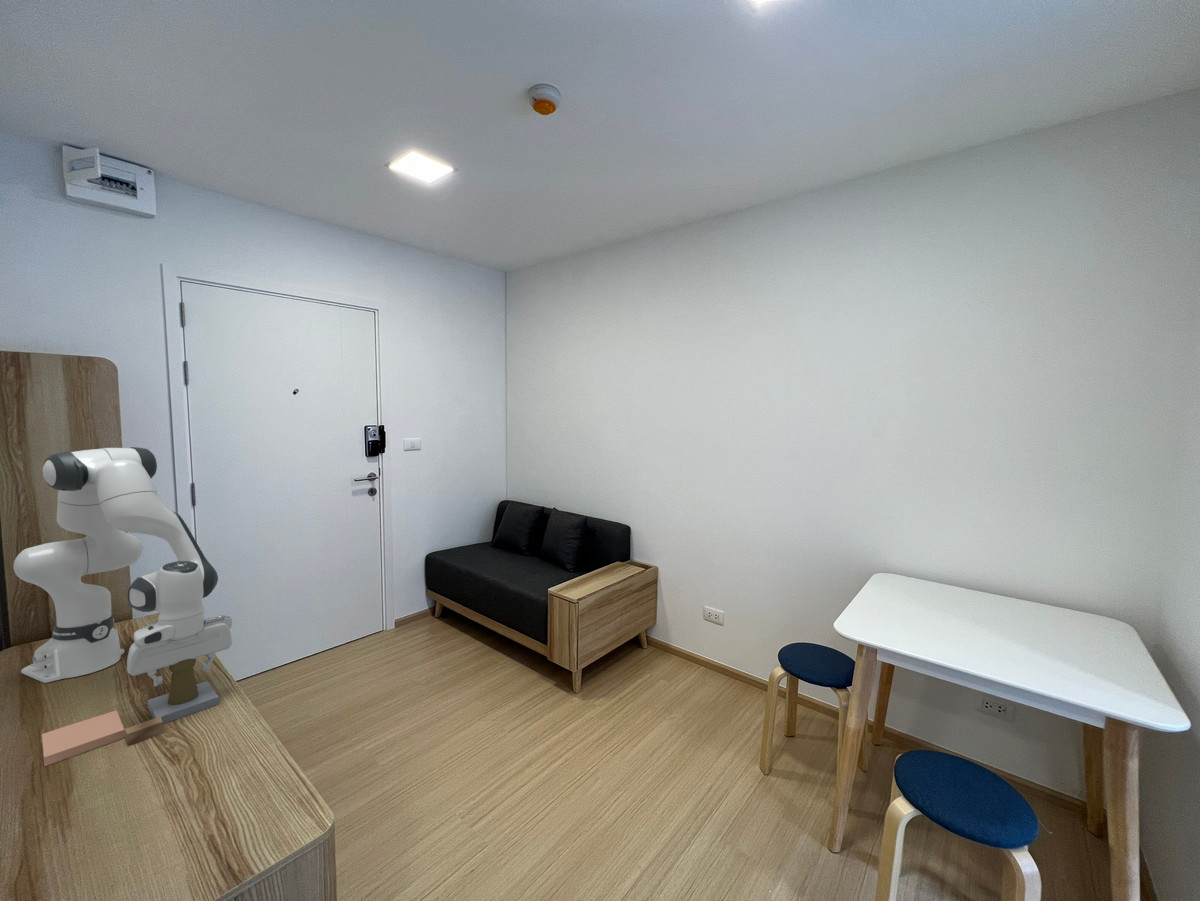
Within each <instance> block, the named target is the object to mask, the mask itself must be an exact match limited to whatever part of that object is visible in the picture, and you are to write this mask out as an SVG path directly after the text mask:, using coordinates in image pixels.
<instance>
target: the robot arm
mask: <svg viewBox="0 0 1200 901" xmlns="http://www.w3.org/2000/svg"><path fill="white" fill-rule="evenodd" d="M157 469H158V463H157V458H156V457H155V455H154V454H153V452H151V451H150V450H149V449H148V448H143V447H137V446H136V447H135V446H130V447H100V448H96V449H95V448H92V449H83V450H77V451H68V450H67V451H61V452H57V453H56V452H55V453H53V454H50V455H49V456H48V457H47V458H46V459H45V460H44V462H43V466H42V476H43V479H44V480H45V483H46V484H47V486H49V487H50V488H52V489H54V490H56V491H57V503H56V504H57V505H56V508H57V509H56V523H57V524H58V525H59V527H61V528H62V529H64V530H66V531H69V532H71V533H75V534H81V535H85V537H81V538H77V539H67V540H60V541H55V542H54V541H51V542H47V543H42V544H38V545H34V546H32V547H27V548H25V549H23V550H21V552H20V553H19V554H17V556H16V557H15V560H14V561H13V571H14V573H15V575H16V577H18V578H19V579H20V580H22V581H24V582H26V583H29V584H32V585H35V586H38V587H39V588H42V589H43V590H44V591H46V593H48V594H49V596H50V597H51V599H52V600H53V604H54V608H55V609H54V610H55V618H56V624H54V625H51V626H50V631H52V635H51V638H50V639H49V640H47V641H46V642H45V643H43V644H42V645H40V646H39V647H38V648H36V650H35V651H34V653H33V656H32V662H33V663H31V664H29V665H27V666H25V667H23V668H22V669H21V670H20V673H21V674H23V675H25V676H27V677H30V678H31V679H34V680H36V681H39V682H40V683H44V684H46V683H47V684H48V683H51V682H55V681H58V680H59V681H60V680H63V679H71V678H76V677H81V676H84V675H88V674H93V673H95V672H98V671H101V670H104V669H106V668H108V667H111V666H113V665H115V664H116V663H118V662H119V661H121V656H122V655H123V654H125V649H124V648H121V643H120V638H119V632H118V629H117V628H114V626H115V618H114V614H113V613H112V595H111V592H110V590H109V589H108V588H107V587H104V586H102V585H97V584H90V583H85V582H82V579H81V578H82V577H83V576H87V575H93V574H99V573H104V572H110V571H116V570H119V569H122V568H125V567H129V566H132V565H134V564H136V563H137V562H138V561H139V560H140V558H141V557H142V554H143V549H144V548H143V547H144V546H143V544H142V542H141V540H140V538H138V537H137V536H135V535H133V534H141V535H147V536H154V537H157V538H161V539H162V540H164V541H166V543H168V544H169V546H170V548H171V550H172V551H173V553H174V555H175V556H176V559H177V561H171V562H168V563H165V564H164V565H162V566H161V567H160V568H159V569H158V570H156V571H154V572H151V573H147V574H145V575H141V576H139V577H137V578H136V579H134V581H132V583H131V584H130V586H129V588H128V589H127V600H128V604H129V606H130V607H131V608H133V609H134V610H136V611H139V612H142V613H149V612H154V611H155V612H158V618H157V620H156V621H155V622H152V623H151V624H149V625H147V626H144V627H142V628H139V629H137V630H135V631H134V632H133V641H134V642H133V643H132V644H131V645H130V647H129V650H128V654H127V661H126V671H127V673H128V674H129V675H130V676H133V677H134V676H138V675H141V674H142V675H143V674H145V673H147V675H148V676H149V678H151V680H153V686H154V687H158V686H159V687H160V686H162V685H163V684H164V683H163V680H164V679H163V676H162V675H159V676H157V675H155V674H157V670H159V669H163V668H166V667H169V666H170V665H174V664H176V663H178V662H180V661H183V660H186V659H194V658H195V659H197V658H201V657H204V656H207V658H206V661H205V662H202V663H201V670H202V672H203V673H204V672H208V671H210V670H211V664H212V663H213V662H214V659H215V658H216V654H217V653H218V652H221V651H225V650H228V649H230V648H231V647H232V644H233V640H232V634H231V628H232V625H233V621H232V618H231V617H230V616H228V615H223V614H222V615H218V616H215V617H211V618H206V619H205V608H204V606H203V599H204V598H207V597H208V596H209V595H210V594H212V592H213V590H215V588H216V586H217V584H218V582H219V575H218V572H217V570H216V569H215V567H214V566H213V565H212V564H211V562H210V561H209V560H208V559H207V558H206V557H205V555H204V553H203V551H202V550H201V547H200V546H199V544H198V542H197V541H196V538H195V537H194V535H193V534H192V531H191V530H190V528H189V527H188V525H187V523H186V522H185V520H184V519H183V518H182V516H181V515H180V514H179V513H177V512H175V511H172V510H170V509H169V508H168V507H167V506H166V505H165V504H164V503H163V502H162V500H161V499H160V497H159V495H158V493H157V492H158V491H157V490H156V487H155V485H154V482H153V480H152V479H153V477H154V476H155V475H156V474H157V473H156V472H157Z"/></svg>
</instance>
